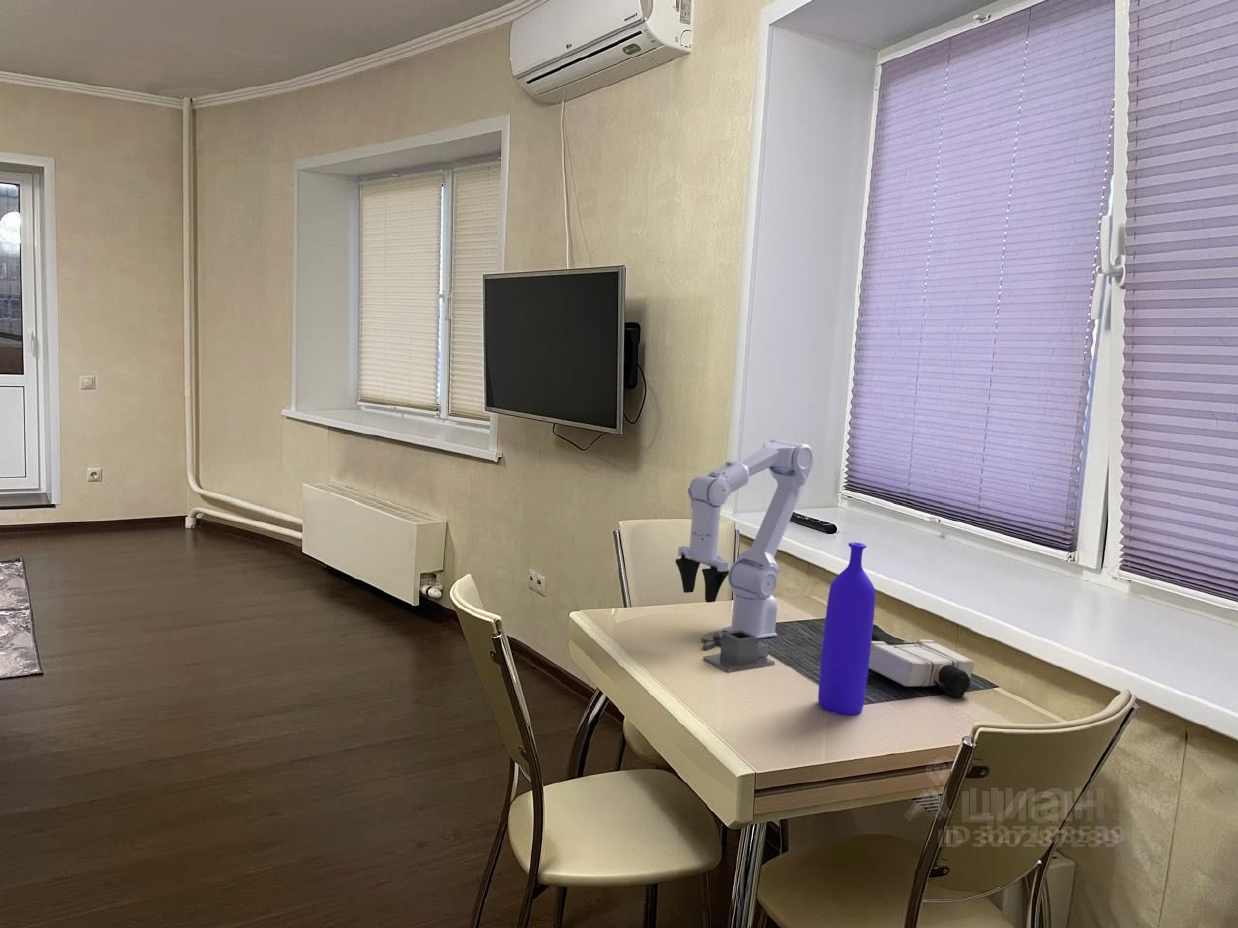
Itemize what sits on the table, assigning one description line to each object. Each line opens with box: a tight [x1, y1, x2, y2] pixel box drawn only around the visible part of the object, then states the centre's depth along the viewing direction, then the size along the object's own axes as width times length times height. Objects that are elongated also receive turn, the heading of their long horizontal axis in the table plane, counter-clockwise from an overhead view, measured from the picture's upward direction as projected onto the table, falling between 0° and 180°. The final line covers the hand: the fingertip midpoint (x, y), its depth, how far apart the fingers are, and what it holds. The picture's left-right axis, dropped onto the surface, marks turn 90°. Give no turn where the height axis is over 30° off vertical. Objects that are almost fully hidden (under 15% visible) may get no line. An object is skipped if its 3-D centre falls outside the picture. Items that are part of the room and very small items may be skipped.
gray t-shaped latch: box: [701, 631, 723, 651], centre depth 200 cm, size 10×5×2 cm, turn 152°
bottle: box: [817, 541, 876, 716], centre depth 168 cm, size 8×8×30 cm
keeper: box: [702, 641, 776, 673], centre depth 190 cm, size 12×8×4 cm, turn 123°
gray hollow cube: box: [719, 630, 760, 665], centre depth 189 cm, size 5×5×5 cm
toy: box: [868, 623, 975, 699], centre depth 190 cm, size 19×7×30 cm
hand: (699, 596), depth 198 cm, fingers open, 7 cm apart
